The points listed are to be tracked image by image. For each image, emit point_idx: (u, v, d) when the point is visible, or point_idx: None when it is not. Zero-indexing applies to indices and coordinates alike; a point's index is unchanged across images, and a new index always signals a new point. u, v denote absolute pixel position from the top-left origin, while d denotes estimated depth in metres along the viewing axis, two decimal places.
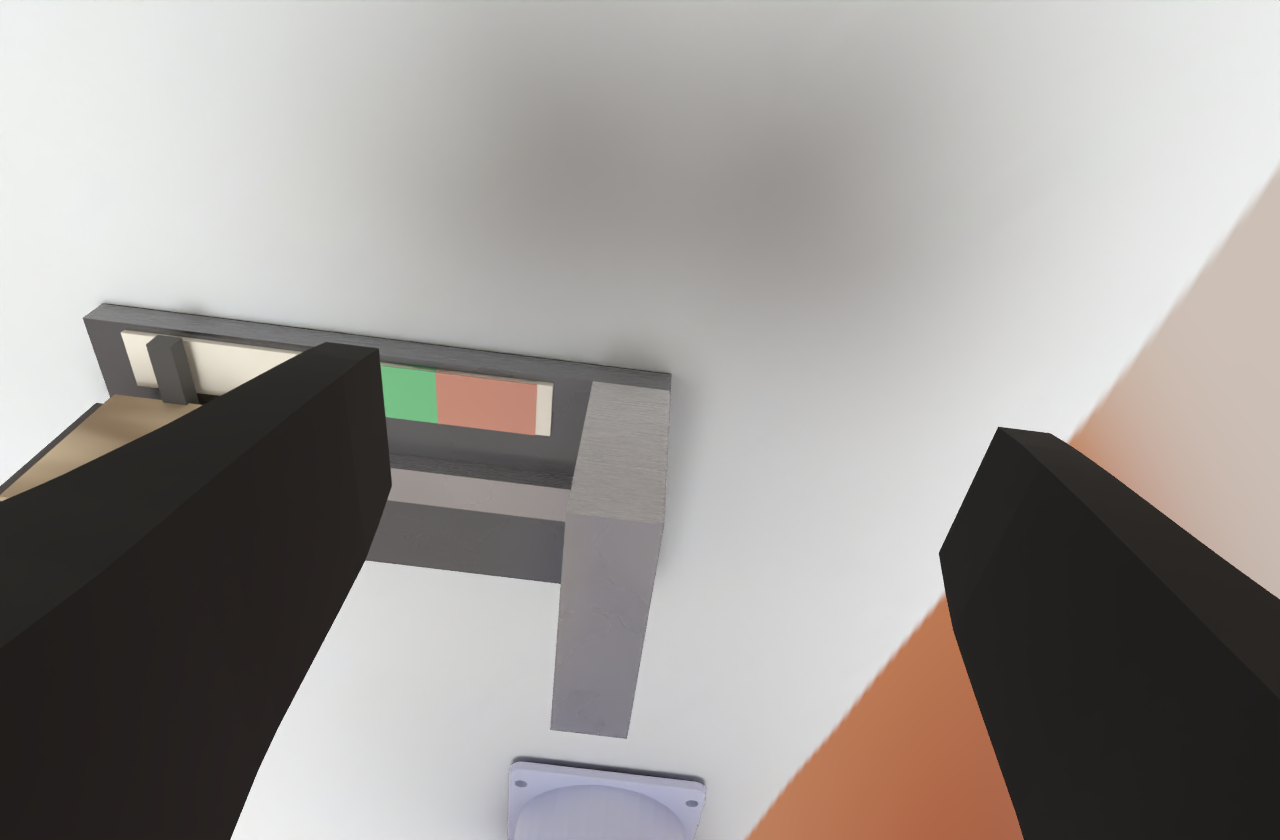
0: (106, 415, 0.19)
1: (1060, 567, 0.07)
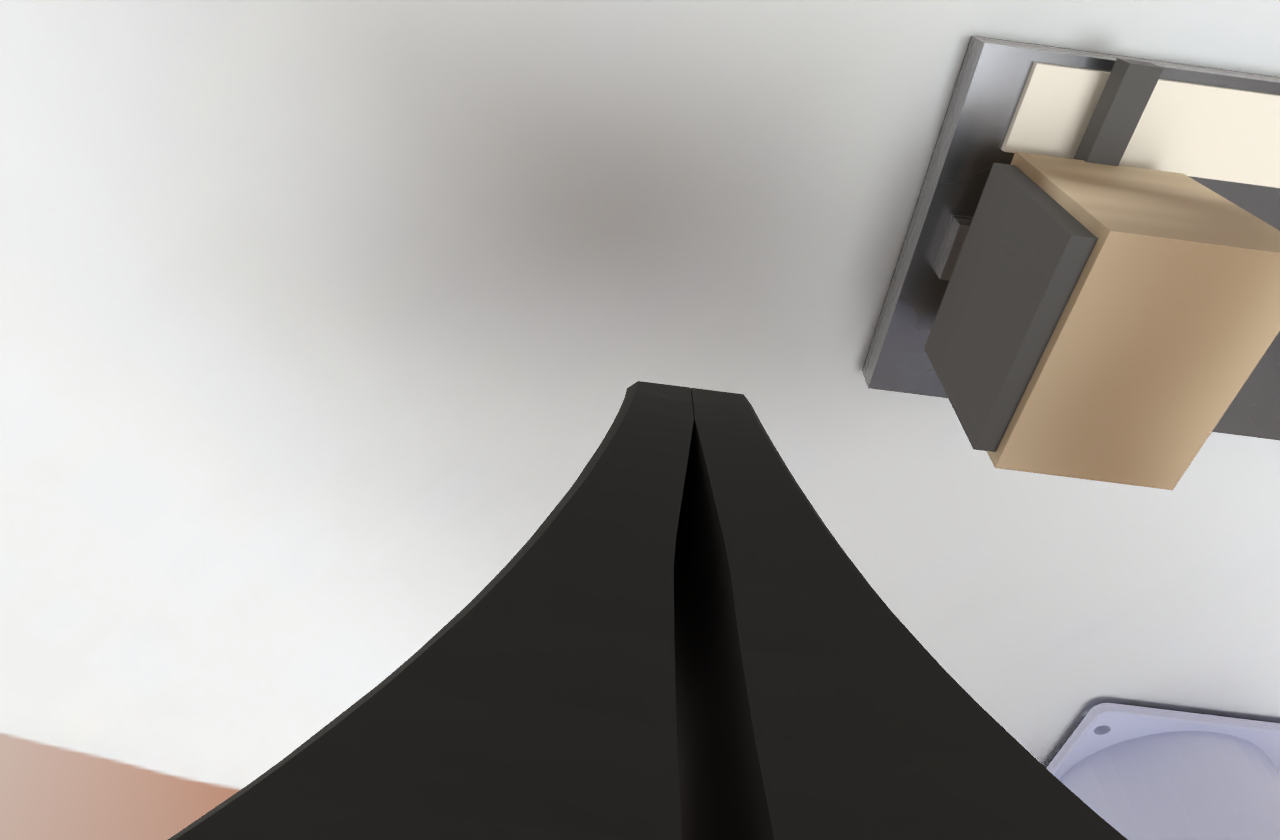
0: (1052, 168, 0.14)
1: (694, 522, 0.07)
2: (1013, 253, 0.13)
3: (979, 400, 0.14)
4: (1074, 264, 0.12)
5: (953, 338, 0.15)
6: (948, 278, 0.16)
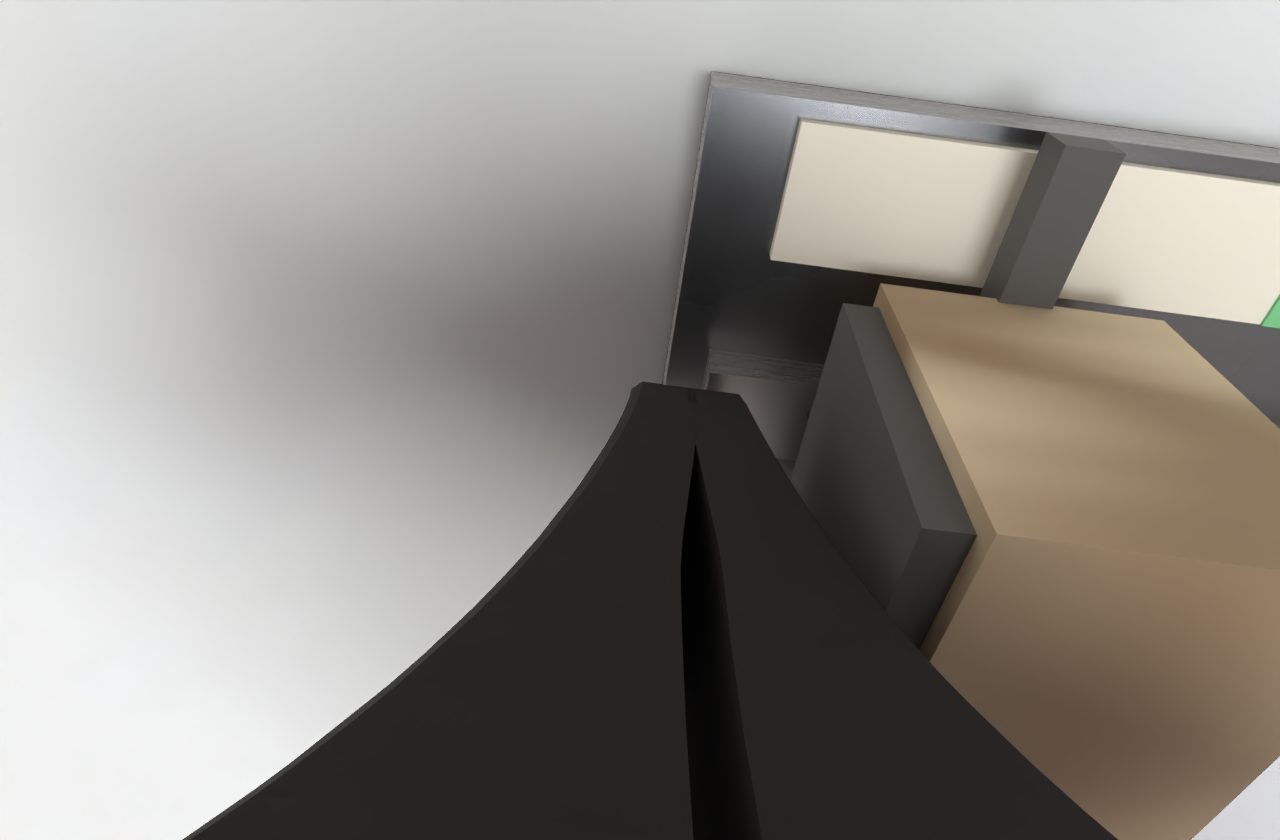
0: (932, 325, 0.08)
1: (688, 520, 0.07)
2: (852, 491, 0.07)
3: None
4: (934, 575, 0.06)
5: None
6: None
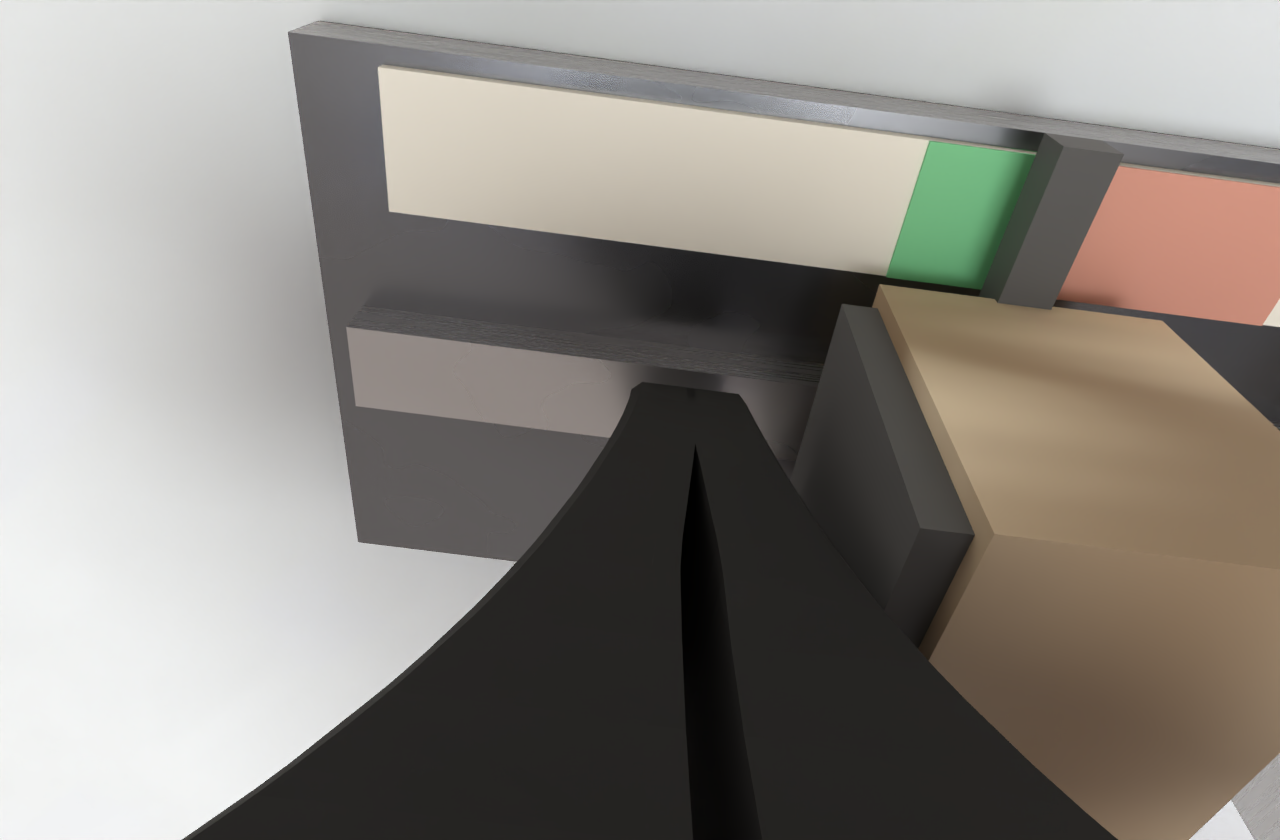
0: (931, 325, 0.08)
1: (688, 521, 0.07)
2: (852, 491, 0.07)
3: None
4: (932, 575, 0.06)
5: None
6: (369, 404, 0.10)
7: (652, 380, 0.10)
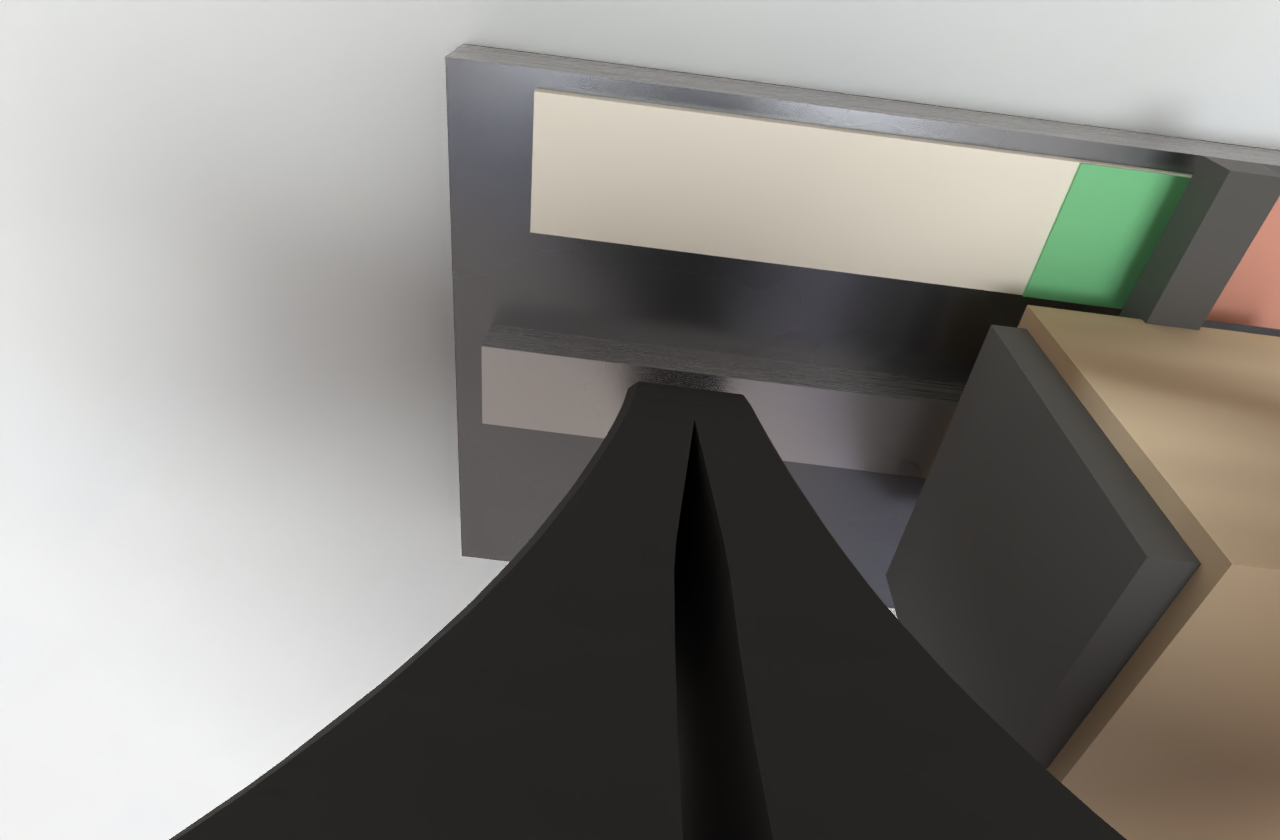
0: (1092, 347, 0.08)
1: (694, 522, 0.07)
2: (1026, 514, 0.07)
3: None
4: (1151, 602, 0.06)
5: (927, 595, 0.09)
6: (495, 422, 0.10)
7: (783, 398, 0.10)
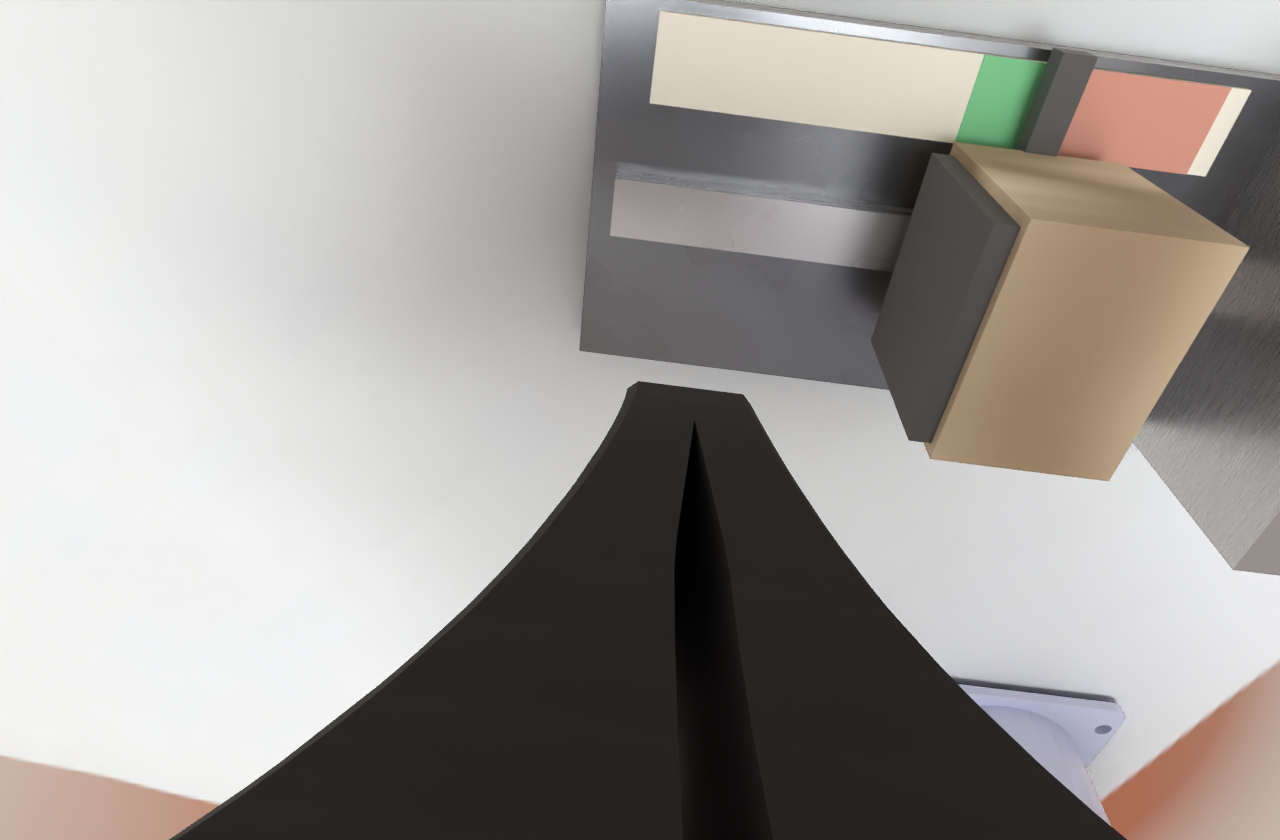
0: (987, 157, 0.14)
1: (693, 522, 0.07)
2: (946, 243, 0.13)
3: (914, 391, 0.14)
4: (998, 253, 0.12)
5: (895, 330, 0.15)
6: (618, 234, 0.16)
7: (805, 214, 0.16)
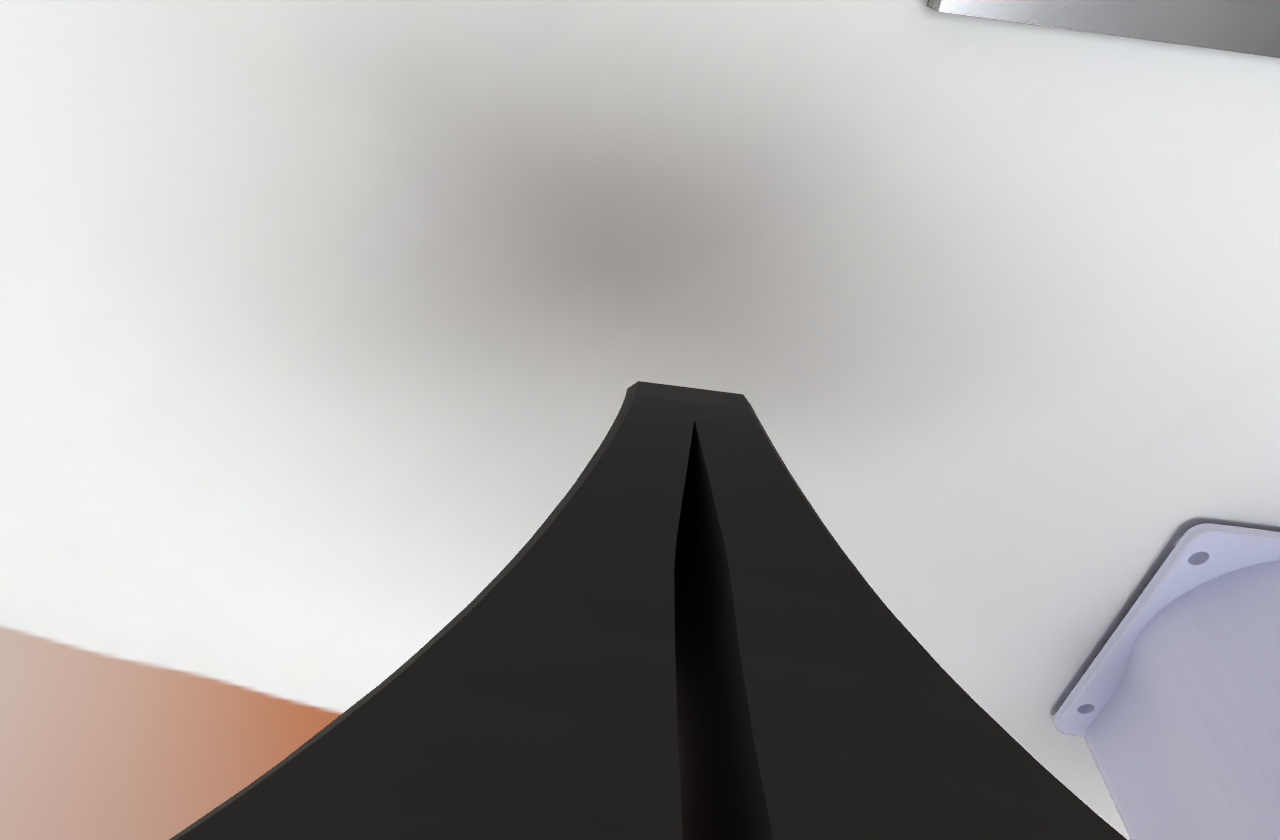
0: None
1: (694, 521, 0.07)
2: None
3: None
4: None
5: None
6: None
7: None
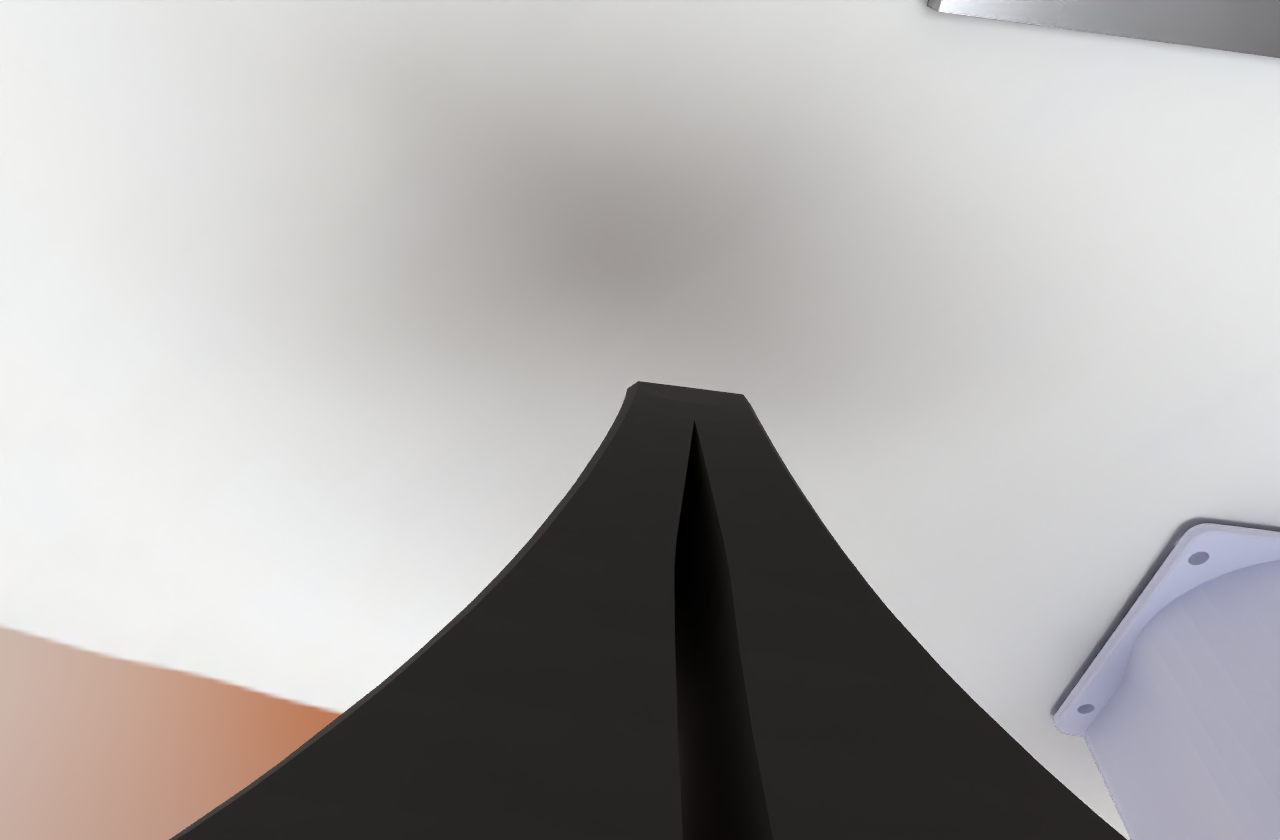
0: None
1: (694, 521, 0.07)
2: None
3: None
4: None
5: None
6: None
7: None
